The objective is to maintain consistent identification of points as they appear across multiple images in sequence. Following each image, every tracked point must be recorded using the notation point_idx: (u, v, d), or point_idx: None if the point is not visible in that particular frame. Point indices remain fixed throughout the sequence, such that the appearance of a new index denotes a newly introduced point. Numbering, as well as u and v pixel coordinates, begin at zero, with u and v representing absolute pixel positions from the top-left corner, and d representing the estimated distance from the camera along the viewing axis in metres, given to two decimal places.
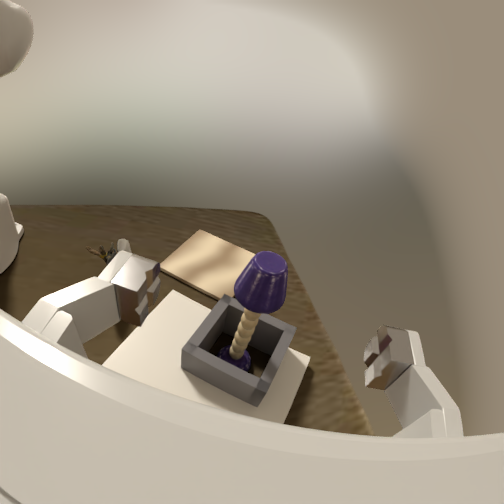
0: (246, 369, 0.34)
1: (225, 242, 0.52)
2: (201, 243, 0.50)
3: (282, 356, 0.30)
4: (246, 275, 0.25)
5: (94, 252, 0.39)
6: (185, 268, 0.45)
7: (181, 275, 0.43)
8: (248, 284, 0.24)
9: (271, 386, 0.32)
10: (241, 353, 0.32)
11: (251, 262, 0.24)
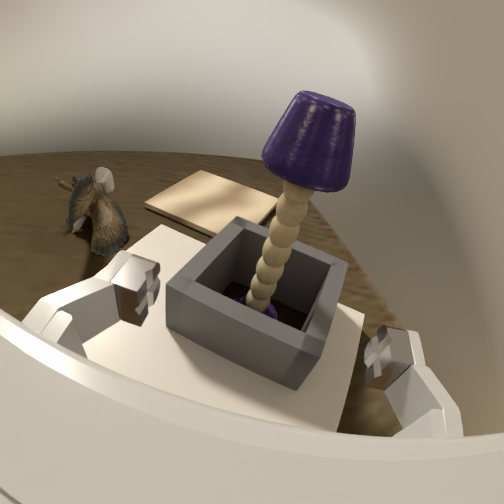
0: None
1: (233, 182, 0.40)
2: (202, 182, 0.38)
3: (336, 300, 0.19)
4: (288, 117, 0.13)
5: (65, 185, 0.27)
6: (180, 204, 0.33)
7: (175, 212, 0.32)
8: (292, 129, 0.13)
9: None
10: (266, 301, 0.21)
11: (295, 97, 0.13)
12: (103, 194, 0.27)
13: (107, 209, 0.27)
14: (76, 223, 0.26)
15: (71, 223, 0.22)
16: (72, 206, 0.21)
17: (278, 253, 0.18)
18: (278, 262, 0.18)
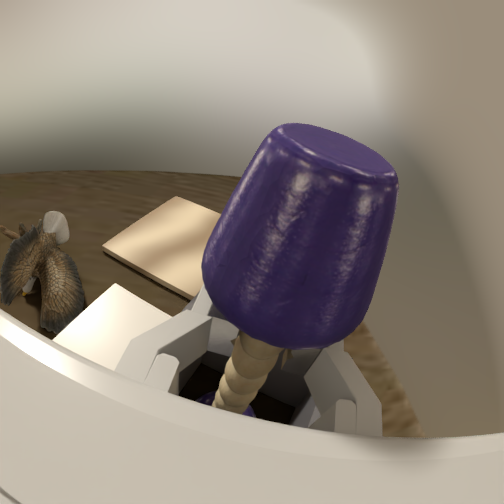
0: None
1: (213, 213, 0.33)
2: (175, 214, 0.32)
3: None
4: (245, 196, 0.06)
5: (11, 235, 0.19)
6: (144, 248, 0.26)
7: (137, 261, 0.25)
8: (253, 230, 0.06)
9: None
10: None
11: (263, 145, 0.06)
12: (53, 248, 0.20)
13: (57, 271, 0.19)
14: (25, 286, 0.19)
15: (10, 299, 0.15)
16: (6, 280, 0.14)
17: (246, 384, 0.11)
18: (247, 392, 0.11)
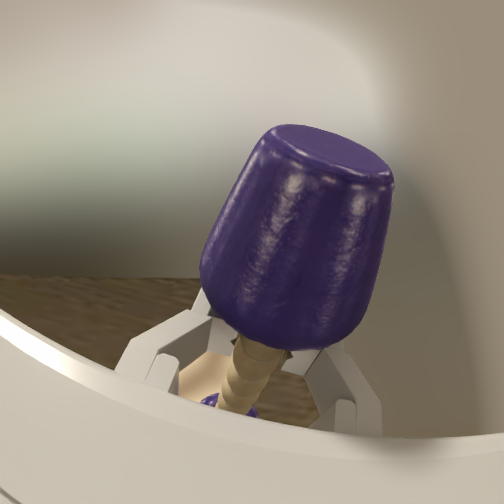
0: None
1: None
2: None
3: None
4: (239, 199, 0.06)
5: None
6: None
7: None
8: (247, 232, 0.06)
9: None
10: None
11: (257, 147, 0.06)
12: None
13: None
14: None
15: None
16: None
17: (248, 386, 0.11)
18: (249, 394, 0.11)
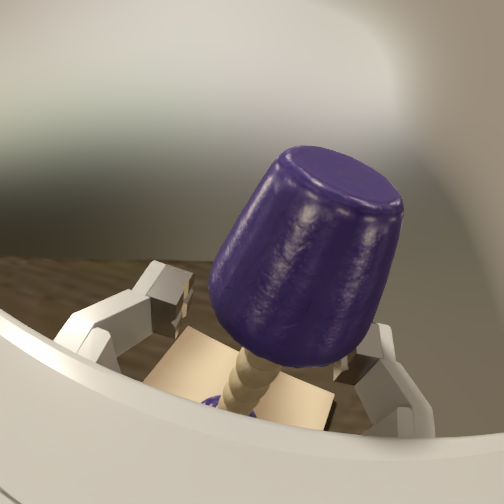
0: None
1: None
2: (192, 371, 0.19)
3: None
4: (253, 223, 0.06)
5: None
6: None
7: None
8: (260, 257, 0.06)
9: None
10: None
11: (271, 170, 0.06)
12: None
13: None
14: None
15: None
16: None
17: (249, 393, 0.11)
18: (250, 400, 0.11)
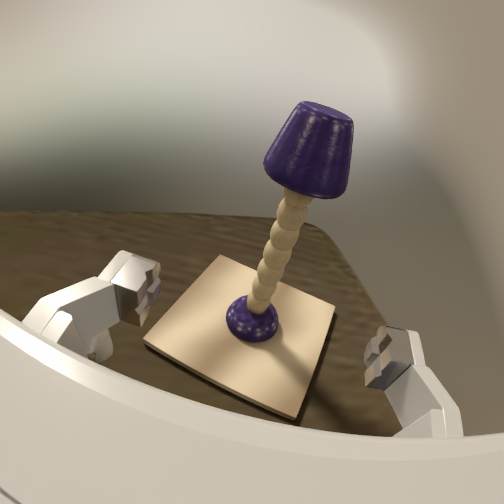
0: (272, 331, 0.22)
1: None
2: (225, 283, 0.26)
3: None
4: (288, 127, 0.14)
5: None
6: (199, 342, 0.21)
7: (193, 362, 0.20)
8: (292, 139, 0.13)
9: None
10: (266, 302, 0.21)
11: (296, 108, 0.13)
12: None
13: None
14: None
15: None
16: None
17: (278, 255, 0.18)
18: (278, 264, 0.19)
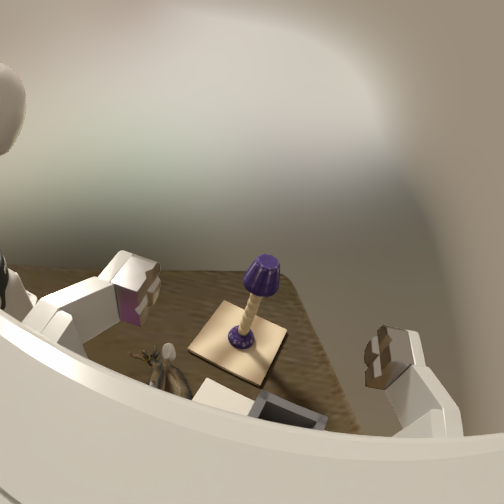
0: (250, 343, 0.45)
1: None
2: (227, 318, 0.49)
3: None
4: (252, 270, 0.36)
5: (136, 357, 0.37)
6: (215, 349, 0.44)
7: (212, 358, 0.43)
8: (253, 276, 0.36)
9: None
10: (247, 330, 0.44)
11: (255, 261, 0.36)
12: (170, 367, 0.37)
13: (176, 382, 0.36)
14: None
15: None
16: None
17: (251, 312, 0.41)
18: (251, 316, 0.42)
